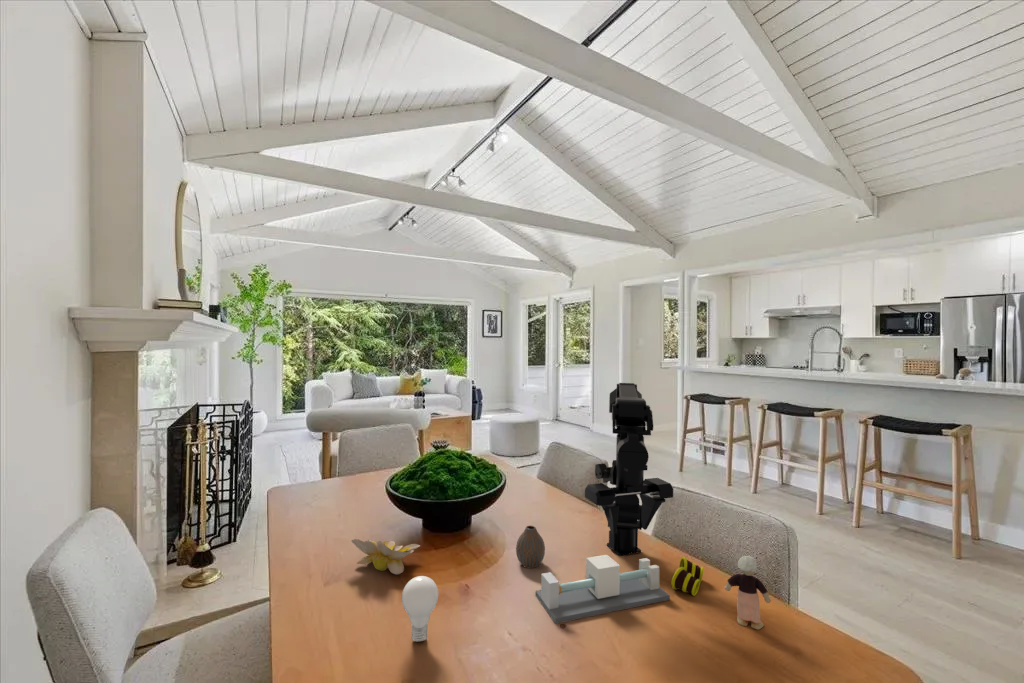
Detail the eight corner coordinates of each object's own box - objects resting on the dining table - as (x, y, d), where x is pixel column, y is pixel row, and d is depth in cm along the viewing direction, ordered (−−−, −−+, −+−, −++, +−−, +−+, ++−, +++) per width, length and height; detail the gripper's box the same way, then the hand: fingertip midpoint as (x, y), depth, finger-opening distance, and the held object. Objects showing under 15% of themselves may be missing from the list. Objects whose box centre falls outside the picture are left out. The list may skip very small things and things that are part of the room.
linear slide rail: (640, 576, 104) (641, 549, 104) (669, 599, 94) (670, 570, 94) (535, 595, 95) (535, 566, 95) (555, 623, 86) (556, 591, 86)
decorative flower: (433, 553, 109) (425, 516, 107) (405, 587, 99) (396, 546, 97) (384, 545, 115) (376, 510, 114) (352, 576, 105) (343, 538, 104)
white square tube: (606, 582, 98) (606, 554, 98) (619, 594, 93) (619, 565, 93) (585, 586, 96) (586, 557, 96) (597, 598, 91) (598, 569, 91)
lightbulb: (403, 629, 83) (404, 569, 83) (439, 628, 84) (439, 568, 84) (398, 653, 77) (399, 588, 77) (436, 651, 77) (437, 587, 77)
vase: (542, 572, 104) (543, 534, 105) (513, 569, 106) (513, 531, 106) (546, 559, 111) (546, 523, 111) (518, 555, 113) (519, 520, 113)
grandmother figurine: (767, 621, 87) (767, 555, 87) (771, 633, 84) (772, 564, 84) (723, 612, 90) (724, 548, 90) (725, 624, 86) (726, 557, 86)
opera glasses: (694, 603, 95) (699, 581, 94) (668, 591, 97) (674, 569, 97) (701, 582, 103) (706, 562, 103) (677, 572, 106) (682, 552, 105)
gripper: (644, 447, 108) (643, 513, 108) (573, 452, 102) (572, 521, 101) (675, 458, 97) (674, 531, 97) (598, 464, 91) (597, 542, 91)
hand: (628, 531), depth 97 cm, fingers open, 7 cm apart
